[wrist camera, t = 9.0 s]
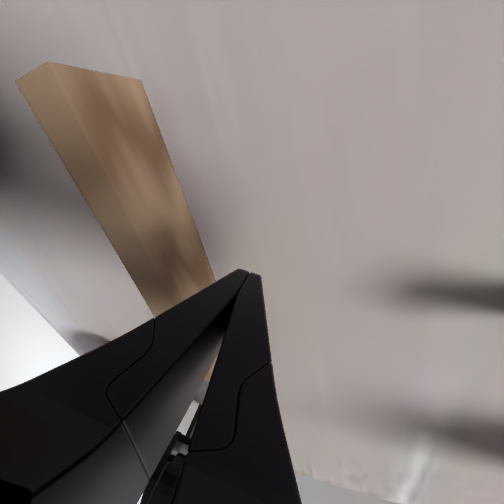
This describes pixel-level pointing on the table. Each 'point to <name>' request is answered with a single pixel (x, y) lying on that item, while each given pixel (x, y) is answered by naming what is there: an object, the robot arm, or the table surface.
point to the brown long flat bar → (123, 178)
